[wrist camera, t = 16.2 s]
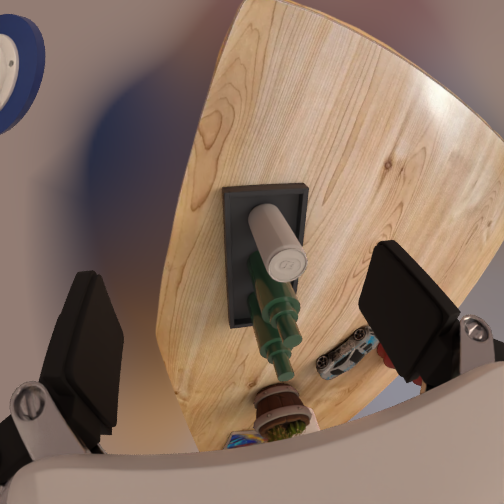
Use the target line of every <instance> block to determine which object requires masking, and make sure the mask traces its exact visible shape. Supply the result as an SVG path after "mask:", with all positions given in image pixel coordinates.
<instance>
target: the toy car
mask: <svg viewBox="0 0 504 504" xmlns="http://www.w3.org/2000/svg"><path fill="white" fill-rule="evenodd" d="M364 328H365V330H364V329H358V330H356V331H355V333H354V337H353V336H351V337H350V338H349V340H348V341H347V342H345V343H344V344H343V345H341V346H340V347H339V348H337V349H336V350H335V351H333V352H330V353H329V354H328V356H329V357H327V356H320V357H319V358H318V360H317V366H316V368H317V371H318V373H319V374H320V376H321V377H322V378H323V379H326V380H331V379H333V378H335V377H337V376H338V375H340V374H342V373H344V372H346V371H348V370H350V369H352V368H353V367H354V366H355V365H356V364H357V363H358V362H359V361H360V360H361V359H362V358H363V357H364V356H365V355H366V354H367V353H369V352H370V351H371V350H373V349H375V348H376V346H377V344H378V343H379V340H378V339H377V337H376V335H375V334H374V332H373V330H372V329H371V327H369V326H367V327H364ZM362 332H364V333H362ZM359 333H360V334H359ZM357 336H358V337H357ZM325 358H326V359H327V360H325ZM323 359H324V360H323ZM322 360H323V361H322Z"/></svg>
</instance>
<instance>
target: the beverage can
mask: <svg viewBox="0 0 504 504" xmlns="http://www.w3.org/2000/svg"><path fill="white" fill-rule="evenodd" d="M248 223H249V226H250V229H251V231H252V234H253V237H254V239H255V242H256V245H257V247H258V250H259V252H260V255H261V257H262V260H263V263H264V265H265V268H266V270H267V272H268V274H269V275H270V276H271V277H272V279H274V280H276V281H278V282H290V281H293V280H295V279H297V278H298V277H300V276H301V275H302V274H303V273H304V271H305V270H306V267H307V262H308V260H307V256H306V253H305V251H304V249H303V248H302V246H301V244H300V243H299V241H298V239H297V238H296V236H295V235H294V233H293V231H292V230H291V228H290V226H289V225H288V223H287V222H286V220H285V218H284V217H283V215H282V214H281V212H280V210H279V209H278V208H277V207H276V206H275V205H272V204H262V205H259V206H257V207H255V208H253V210H252V211H251V212H250V214H249V217H248Z"/></svg>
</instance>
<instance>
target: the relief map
mask: <svg viewBox="0 0 504 504" xmlns="http://www.w3.org/2000/svg"><path fill="white" fill-rule="evenodd" d="M266 440H267V441H268V438H263V437H262V436H261V435H260V434H258V433H256V431H255V430H252V431H239V432H231V434H230V436H229V438H228V440H227V442H226V444H225V446H224V448H223V450H225V449H232V448H239V447H246V446H252V445H258V444H263V443H266V442H267V441H266Z"/></svg>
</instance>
